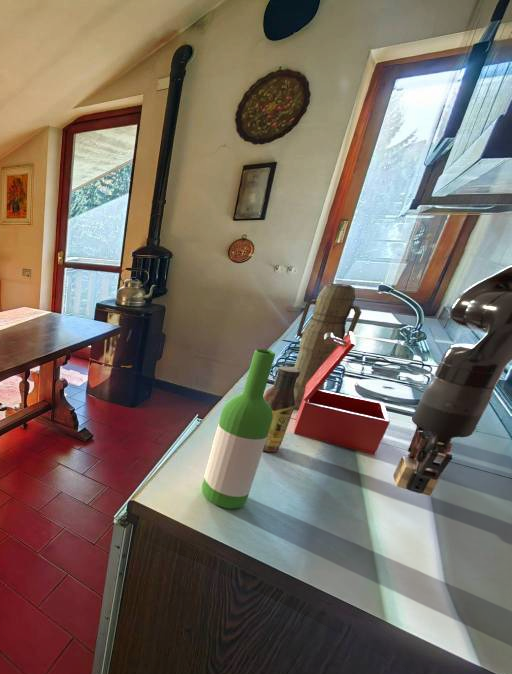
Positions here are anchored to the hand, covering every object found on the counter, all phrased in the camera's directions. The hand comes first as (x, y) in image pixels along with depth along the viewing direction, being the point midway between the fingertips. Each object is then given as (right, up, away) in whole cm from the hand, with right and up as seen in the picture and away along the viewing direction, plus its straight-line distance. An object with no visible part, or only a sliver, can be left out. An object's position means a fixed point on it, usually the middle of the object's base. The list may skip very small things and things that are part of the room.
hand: (411, 483), depth 75 cm
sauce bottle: (-16, +4, +19) cm, 25 cm away
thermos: (+10, +13, +40) cm, 44 cm away
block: (0, 0, 0) cm, 0 cm away
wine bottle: (-36, -3, +1) cm, 36 cm away
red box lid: (+2, +23, +21) cm, 32 cm away
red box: (+6, +6, +25) cm, 27 cm away
